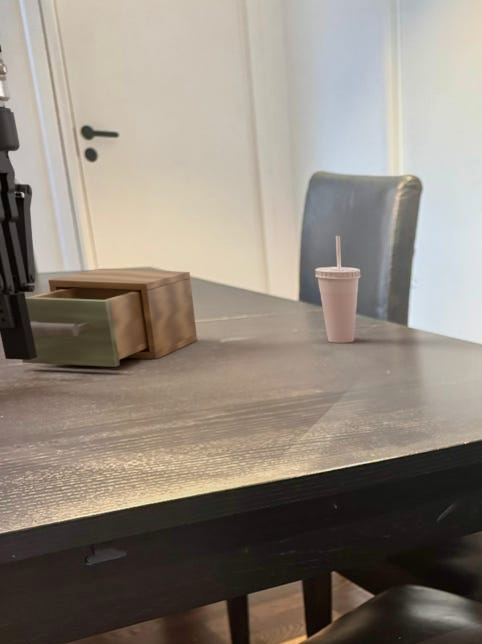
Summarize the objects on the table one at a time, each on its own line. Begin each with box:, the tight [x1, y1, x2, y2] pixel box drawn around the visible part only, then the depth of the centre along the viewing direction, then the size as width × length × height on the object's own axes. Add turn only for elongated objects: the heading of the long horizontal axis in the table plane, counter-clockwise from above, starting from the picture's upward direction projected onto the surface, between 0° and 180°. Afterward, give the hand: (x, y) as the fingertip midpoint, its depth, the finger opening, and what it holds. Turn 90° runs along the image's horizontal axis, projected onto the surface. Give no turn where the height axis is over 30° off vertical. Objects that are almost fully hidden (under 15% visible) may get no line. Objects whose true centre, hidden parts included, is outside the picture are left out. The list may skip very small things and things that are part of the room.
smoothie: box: [314, 235, 362, 344], centre depth 129 cm, size 6×6×14 cm
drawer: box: [21, 287, 149, 368], centre depth 110 cm, size 18×11×7 cm, turn 175°
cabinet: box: [47, 268, 198, 360], centre depth 121 cm, size 15×13×9 cm
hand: (21, 357), depth 98 cm, fingers closed
